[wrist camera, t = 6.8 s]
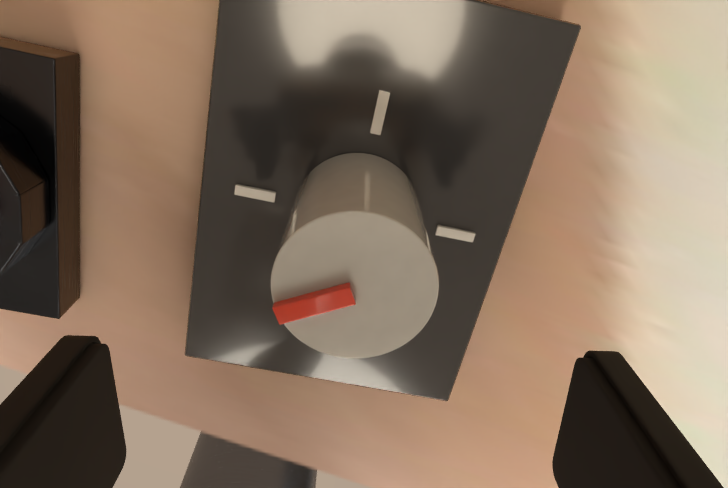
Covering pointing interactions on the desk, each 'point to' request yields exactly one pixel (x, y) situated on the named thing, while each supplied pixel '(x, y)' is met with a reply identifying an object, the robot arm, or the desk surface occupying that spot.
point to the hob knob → (355, 260)
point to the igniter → (39, 178)
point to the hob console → (371, 136)
